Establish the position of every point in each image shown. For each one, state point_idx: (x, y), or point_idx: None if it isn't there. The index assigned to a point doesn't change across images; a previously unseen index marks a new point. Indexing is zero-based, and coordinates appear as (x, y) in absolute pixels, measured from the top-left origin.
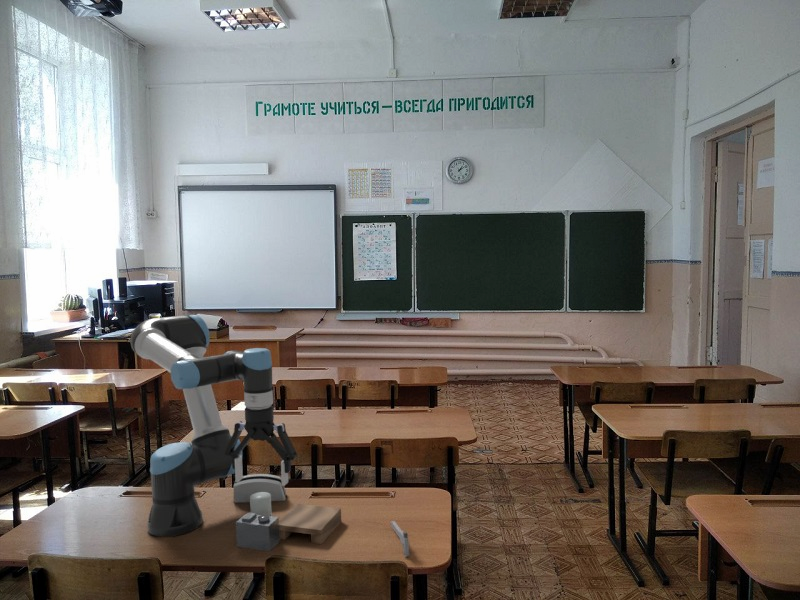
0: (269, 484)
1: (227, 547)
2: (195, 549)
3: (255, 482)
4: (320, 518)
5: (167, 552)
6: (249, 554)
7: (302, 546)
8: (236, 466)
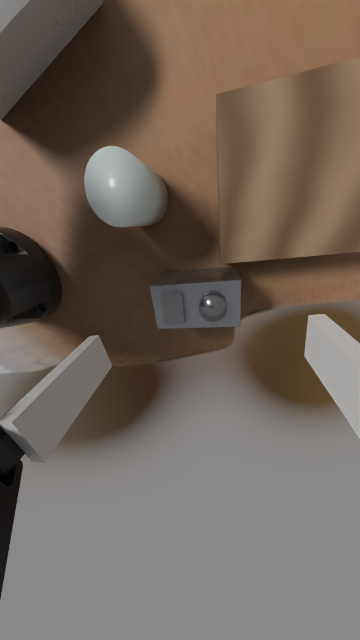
0: (34, 6)
1: None
2: (117, 331)
3: None
4: (342, 179)
5: None
6: None
7: (294, 269)
8: (70, 419)
